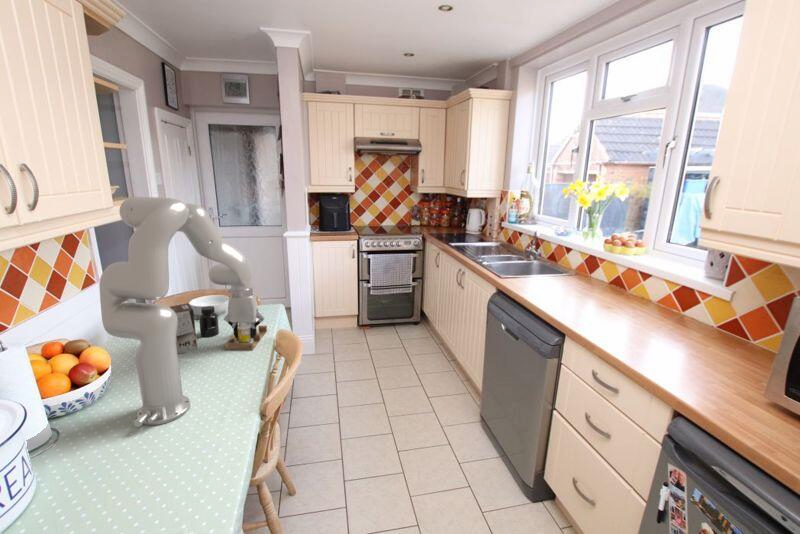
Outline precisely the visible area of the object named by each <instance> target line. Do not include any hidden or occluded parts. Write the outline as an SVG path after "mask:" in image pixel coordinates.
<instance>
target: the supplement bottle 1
mask: <svg viewBox="0 0 800 534" xmlns="http://www.w3.org/2000/svg"><path fill="white" fill-rule="evenodd" d="M201 313H202V314H201V315H198V321H199V322H198V323H199V333H200V337H201V338H206V339H207V338H208V339H209V338H213V337H216V336H218V335H219V333H220V330H219V329H220V328H219V326H220V325H219V315H217V314H216V313H215V309H214V307H213V306H205V307H202V308H201Z"/></svg>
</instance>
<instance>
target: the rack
mask: <svg viewBox="0 0 800 534" xmlns="http://www.w3.org/2000/svg"><path fill="white" fill-rule="evenodd" d="M258 327H259V334H256V336H255V337H254V338H253V342H252V343H239V342H238V338H235V335H234V334H233V335H232V336H231V337H230V339H228V340H227V341H226V342H225V343H224V348H225V351H245V352H246V351H248V352H249V351H254V350H255V348H256V347H257V346H258V344H259V343H260V341H261V340H262V339H263V337H264V336H265V335H266V333H268V326H267V325H258Z"/></svg>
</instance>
